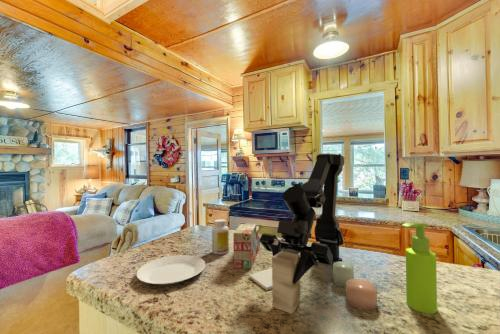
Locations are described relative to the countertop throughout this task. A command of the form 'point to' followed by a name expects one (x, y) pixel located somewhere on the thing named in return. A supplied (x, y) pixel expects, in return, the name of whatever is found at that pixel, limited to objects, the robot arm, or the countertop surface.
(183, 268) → the plate
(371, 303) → the pink soap bar
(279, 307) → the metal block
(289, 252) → the dice cube
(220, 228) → the supplement bottle
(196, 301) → the countertop surface
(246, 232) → the stack of blocks
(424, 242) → the soap dispenser
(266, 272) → the tile
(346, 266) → the sage jar
